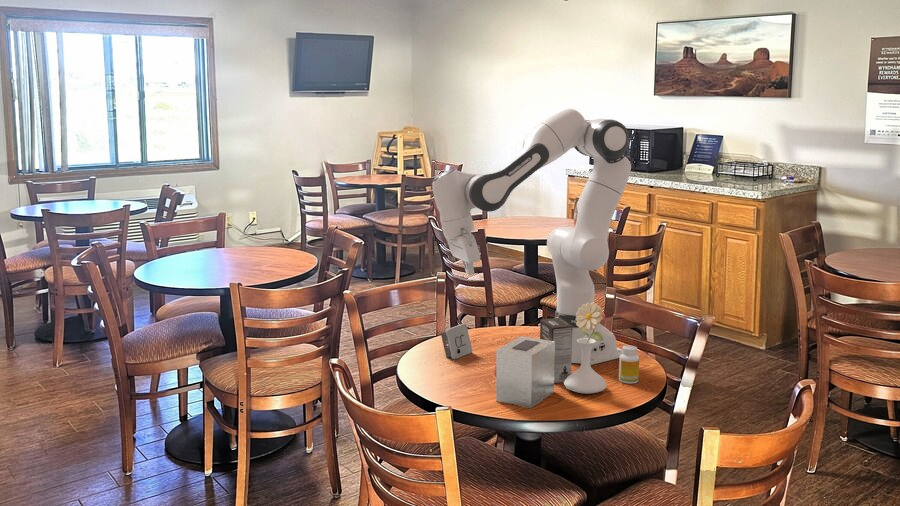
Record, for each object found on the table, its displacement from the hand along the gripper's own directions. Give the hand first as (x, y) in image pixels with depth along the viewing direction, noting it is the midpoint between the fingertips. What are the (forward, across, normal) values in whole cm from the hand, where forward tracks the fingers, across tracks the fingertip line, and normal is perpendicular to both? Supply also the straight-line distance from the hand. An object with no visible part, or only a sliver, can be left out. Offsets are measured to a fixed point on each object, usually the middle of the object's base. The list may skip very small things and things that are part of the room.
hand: (470, 274), depth 238 cm
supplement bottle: (+38, -19, -31) cm, 53 cm away
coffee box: (+33, -12, -13) cm, 38 cm away
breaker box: (+31, -24, 0) cm, 39 cm away
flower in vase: (+35, -24, -17) cm, 46 cm away
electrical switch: (+26, +15, +8) cm, 31 cm away
